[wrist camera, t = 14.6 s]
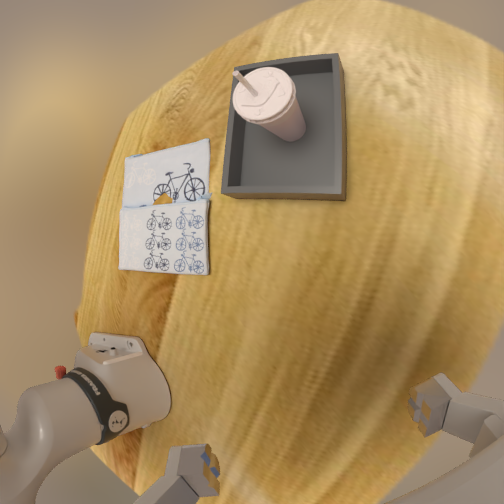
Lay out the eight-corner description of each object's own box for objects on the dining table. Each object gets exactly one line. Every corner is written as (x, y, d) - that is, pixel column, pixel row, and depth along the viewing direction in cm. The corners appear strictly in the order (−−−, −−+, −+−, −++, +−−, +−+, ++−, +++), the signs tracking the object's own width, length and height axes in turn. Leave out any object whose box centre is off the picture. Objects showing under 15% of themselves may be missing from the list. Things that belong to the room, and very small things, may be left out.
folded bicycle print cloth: (122, 268, 48) (113, 269, 46) (130, 156, 48) (121, 153, 46) (213, 277, 40) (205, 278, 38) (219, 135, 40) (211, 130, 38)
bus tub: (236, 198, 38) (220, 193, 35) (247, 80, 38) (234, 67, 34) (345, 200, 32) (341, 194, 29) (343, 70, 32) (338, 53, 28)
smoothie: (259, 124, 36) (199, 71, 23) (299, 97, 34) (254, 31, 21) (283, 161, 35) (225, 114, 22) (326, 133, 32) (290, 69, 20)
